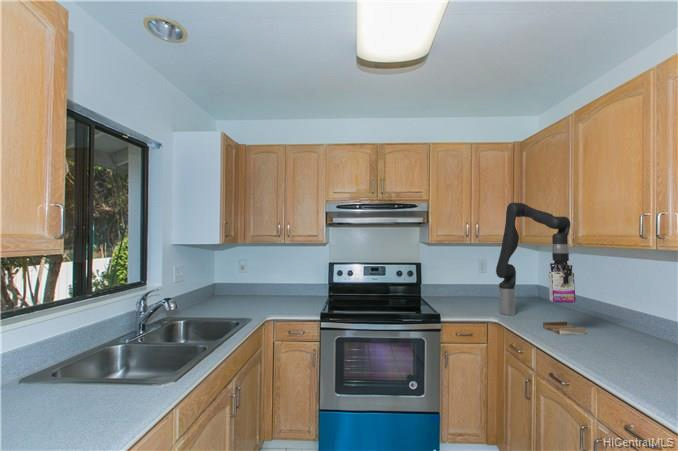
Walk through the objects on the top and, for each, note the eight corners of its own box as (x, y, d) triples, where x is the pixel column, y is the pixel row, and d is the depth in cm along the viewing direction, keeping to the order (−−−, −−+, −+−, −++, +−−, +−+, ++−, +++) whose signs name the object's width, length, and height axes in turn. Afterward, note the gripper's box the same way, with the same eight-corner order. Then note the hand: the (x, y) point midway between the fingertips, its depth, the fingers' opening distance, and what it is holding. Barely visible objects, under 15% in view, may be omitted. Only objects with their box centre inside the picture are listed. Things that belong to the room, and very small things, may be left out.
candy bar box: (571, 301, 180) (570, 271, 181) (575, 302, 175) (574, 272, 176) (548, 300, 182) (547, 271, 183) (552, 302, 178) (551, 272, 178)
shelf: (543, 327, 185) (542, 322, 185) (566, 326, 186) (566, 321, 186) (560, 335, 171) (560, 328, 171) (585, 334, 172) (585, 328, 172)
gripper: (577, 252, 173) (578, 284, 172) (557, 251, 187) (558, 280, 187) (563, 253, 172) (564, 284, 172) (544, 251, 187) (546, 281, 186)
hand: (561, 282), depth 179 cm, fingers closed on candy bar box, 5 cm apart
